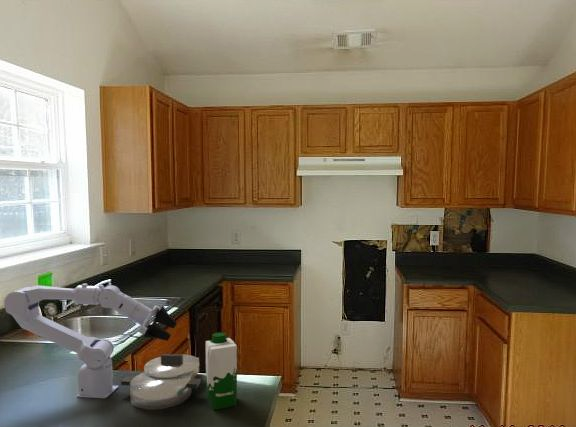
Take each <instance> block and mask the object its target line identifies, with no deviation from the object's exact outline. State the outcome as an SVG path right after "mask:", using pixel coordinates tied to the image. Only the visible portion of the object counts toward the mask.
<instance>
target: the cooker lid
mask: <svg viewBox="0 0 576 427" xmlns="http://www.w3.org/2000/svg"><path fill="white" fill-rule="evenodd" d="M198 358H199V357H196V356H195V355H194V356H193V355H191V354H181V353H179V354H178V353H162V354H161V355H160V356H158V357H156V358H153V359H150V360H149V361H147V362H146V363H145V364H144V366H143V373H144V372H145V374H147V375H148V376H151V377H155V378H174V377H180V376H184V375H187V374H189V373H192V372H193V371H195V370H196V369H197V368H198V367H199V368H200V359H199V360H198Z"/></svg>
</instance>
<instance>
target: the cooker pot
mask: <svg viewBox="0 0 576 427" xmlns="http://www.w3.org/2000/svg"><path fill="white" fill-rule="evenodd" d="M197 358H198V360H199V361H200V357H197ZM199 373H200V366H199V367H198V368H197V369H196V370H195V371H193V372H192V373H189V374H187V375H184V376H180V377H174V378H155V377H151V376H148V375H147V374H145V372H144V371H143V372H142V373H139V374H138V375H126V377H124V378H123V379H122V380H121V382H120V383H121V384H120V385H121V386H130V387H129V388H130V390H129V391H130V397H129V398H130V403H131V405H133V407H136V408H138V409H142V410H163V409H168V408H172V407H175V406H177V405H180V404H182V403H184V402H185V401H187V400H188V399H189V398H190V396H191V395H192V389H198V388H199V386H200V384H201V383H202V379H201V378H196V376H197V375H198V374H199Z"/></svg>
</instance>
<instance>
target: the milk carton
mask: <svg viewBox="0 0 576 427" xmlns="http://www.w3.org/2000/svg"><path fill="white" fill-rule="evenodd" d="M237 351H238V347H237V344H236V343H235V342H234V340H232V339H231V338H230V337H227V335H226V333H225V332H214V333H212V337H211V339H210V340H206V341H205V389H206V396H207V398H206V399H207V401H208V403H209V405H210V406H211V408H212V411H216V410H217V411H218V410H220V409H225V408H230V407H234V406H237V402H238V401H237V395H238V394H237V393H238V392H237V391H238V375H237V374H238V367H237V366H238V364H237V363H238V362H237V357H238V355H237V354H238V353H237Z"/></svg>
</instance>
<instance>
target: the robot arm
mask: <svg viewBox="0 0 576 427" xmlns="http://www.w3.org/2000/svg"><path fill="white" fill-rule="evenodd" d="M43 300H72V301H73V302H74V303H75V304H76V305H95V306H98V305H101V306H100V307H102V308H104V309H108V308H110V309H112V310H114V311H115V312H117V313H119V314H120V315H122V316H124V317H126V318H128V319H130V320H131V321H133V322H135V323H136V324H138V325H140V327H139V330H138V331H137V332H138V333H140V334H142V335H143V336H142V337H143V338H145V339H147V338H148V339H149V338H152V339H153V338H154V339H158V340H163V341H167V342H168V340H169V339H170V338H171V336H172V335H171V333H170V332H168V331H167V330H165V329H164V328H162V327H161V326H160V325H159V324H161V325H164V326H166V327H169V328H171V329H175V327H176V326H177V324H178V322H177V321H176V320H175V319H174V318H173V317H172V316H171V315H170V314H169V313H168V312H167V310H166V308H165V307H164V306H161V307H160V306H158V305H157V304H155V305H154V306H153V307H152V308H150V307H149V306H146V305H145V304H143V303H142V302H140V301H138V300H136V299H134V298H133V297H131V296H130V295H127V294H125V293H123V292H122V291H121V290H120V288H119V287H118V286H117V285H113V284H107V285H106V286H104V285H103V284H99V285H88V283H82V284H79V285H77V286H76V287H74V288H67V287H60V286H59V287H58V286H48V285H41V284H40V285H25V286H22V287H21V288H20V289H16V290H15V291H11V292H9V293H8V294H7V295H6V296H5V298H4V301H3V302H4V308H5V312H6V313H7V314H9V315H11V316H12V318H14V320H15V322H16V323H17V324H18V325H19V326H20V328H22V329H23V330H25V331H28V332H30V333H32V334H35V335H36V336H38V337H41V338H43V339H45V340H48V341H49V342H52V343H54V344H56V345H58V346H60V347H63V348H65V349H67V350H70V351H72V352H74V353H75V354H76V355H77V357H78V359H79V360H80V361H82V362H84V364H82V365H81V367H80V368H79V371H78V376H77V384H78V394H77V398H89V399H91V398H93V399H107V398H108V397H109V396H110V395H111V394H112V393H114V391H116V390H117V389H118V388H119V385H114V384H113V382H114V380H113V379H114V378H113V360H112V358H111V356H112V354H113V352H114V344H113V343H112V341H110V340H109V339H106V338H105V339H104V338H97V337H95V336H86V335H84V334H82V333H79V332H77V331H75V330H74V329H70V328H69V327H66V326H64V325H62V324H60V323H58V322H55V321H53V320H52V319H49V318H47V317H45V316H43V315H41V314H40V309H39V306H40V302H41V301H43Z"/></svg>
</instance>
